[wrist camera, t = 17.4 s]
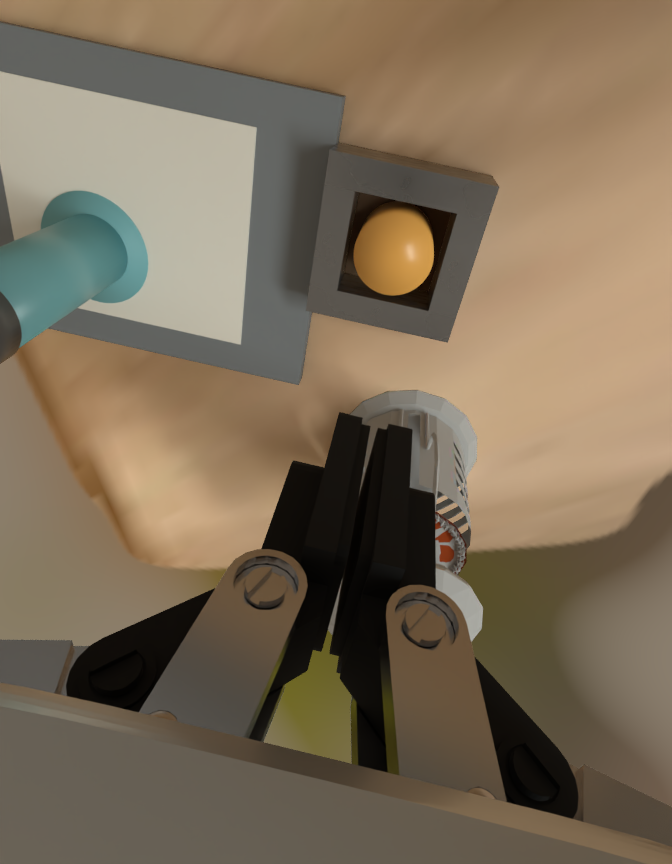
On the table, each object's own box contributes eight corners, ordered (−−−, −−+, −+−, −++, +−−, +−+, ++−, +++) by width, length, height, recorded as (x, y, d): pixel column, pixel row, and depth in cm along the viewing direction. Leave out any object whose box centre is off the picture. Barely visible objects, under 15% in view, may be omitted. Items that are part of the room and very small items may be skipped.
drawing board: (345, 96, 25) (342, 97, 24) (301, 377, 35) (298, 386, 34) (-51, 10, 26) (-70, 7, 25) (11, 311, 35) (-1, 318, 34)
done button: (442, 210, 27) (444, 224, 25) (422, 283, 30) (421, 302, 27) (368, 193, 27) (362, 205, 25) (353, 268, 30) (346, 286, 27)
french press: (333, 491, 40) (238, 926, 20) (345, 356, 33) (218, 802, 13) (461, 510, 39) (500, 981, 19) (500, 375, 33) (623, 881, 12)
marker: (126, 220, 29) (-24, 297, 19) (131, 291, 32) (0, 391, 22) (54, 204, 29) (-132, 273, 19) (64, 277, 32) (-97, 370, 22)
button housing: (492, 175, 26) (499, 186, 24) (445, 321, 31) (447, 342, 29) (338, 142, 27) (329, 149, 24) (315, 291, 31) (305, 310, 29)
